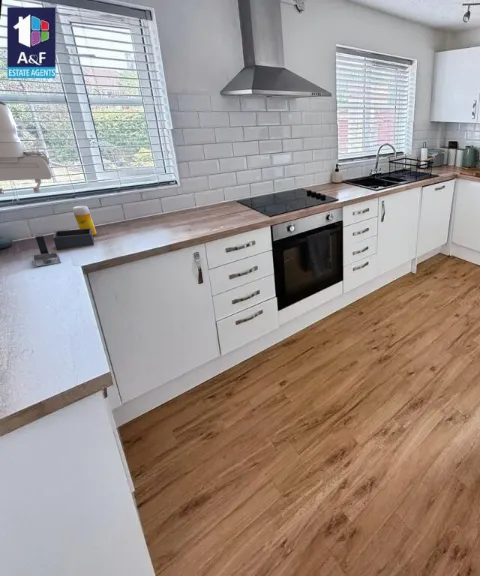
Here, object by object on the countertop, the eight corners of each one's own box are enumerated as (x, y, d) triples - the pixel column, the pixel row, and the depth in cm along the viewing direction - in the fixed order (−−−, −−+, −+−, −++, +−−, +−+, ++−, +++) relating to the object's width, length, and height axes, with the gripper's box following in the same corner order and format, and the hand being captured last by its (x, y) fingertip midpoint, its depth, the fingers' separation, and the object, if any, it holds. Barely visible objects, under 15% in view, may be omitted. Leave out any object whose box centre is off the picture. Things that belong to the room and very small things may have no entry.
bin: (57, 252, 162) (53, 237, 159) (59, 244, 171) (55, 231, 169) (94, 248, 169) (91, 234, 167) (94, 241, 179) (90, 228, 176)
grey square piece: (61, 262, 149) (54, 240, 146) (34, 266, 144) (26, 243, 140) (58, 255, 158) (51, 234, 154) (33, 258, 153) (25, 236, 149)
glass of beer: (80, 236, 186) (70, 207, 179) (94, 233, 190) (84, 204, 183) (85, 239, 183) (74, 209, 176) (99, 235, 187) (89, 206, 180)
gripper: (47, 151, 132) (58, 190, 138) (-35, 150, 121) (-20, 193, 126) (45, 152, 128) (57, 193, 133) (-40, 151, 116) (-24, 195, 121)
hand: (19, 193), depth 129 cm, fingers open, 8 cm apart
